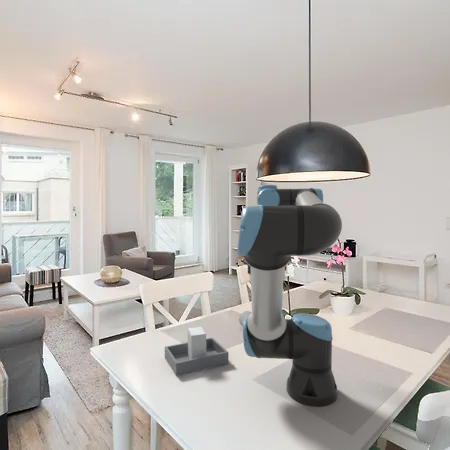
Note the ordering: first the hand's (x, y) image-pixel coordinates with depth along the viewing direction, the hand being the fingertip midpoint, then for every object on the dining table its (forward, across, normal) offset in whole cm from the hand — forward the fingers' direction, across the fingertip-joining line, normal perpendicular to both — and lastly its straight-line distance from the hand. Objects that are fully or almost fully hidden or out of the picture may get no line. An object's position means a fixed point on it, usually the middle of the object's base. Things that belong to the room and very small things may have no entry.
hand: (267, 281), depth 125 cm
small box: (+28, +27, -7) cm, 39 cm away
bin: (+29, +27, -7) cm, 40 cm away
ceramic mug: (+29, -8, -25) cm, 39 cm away
